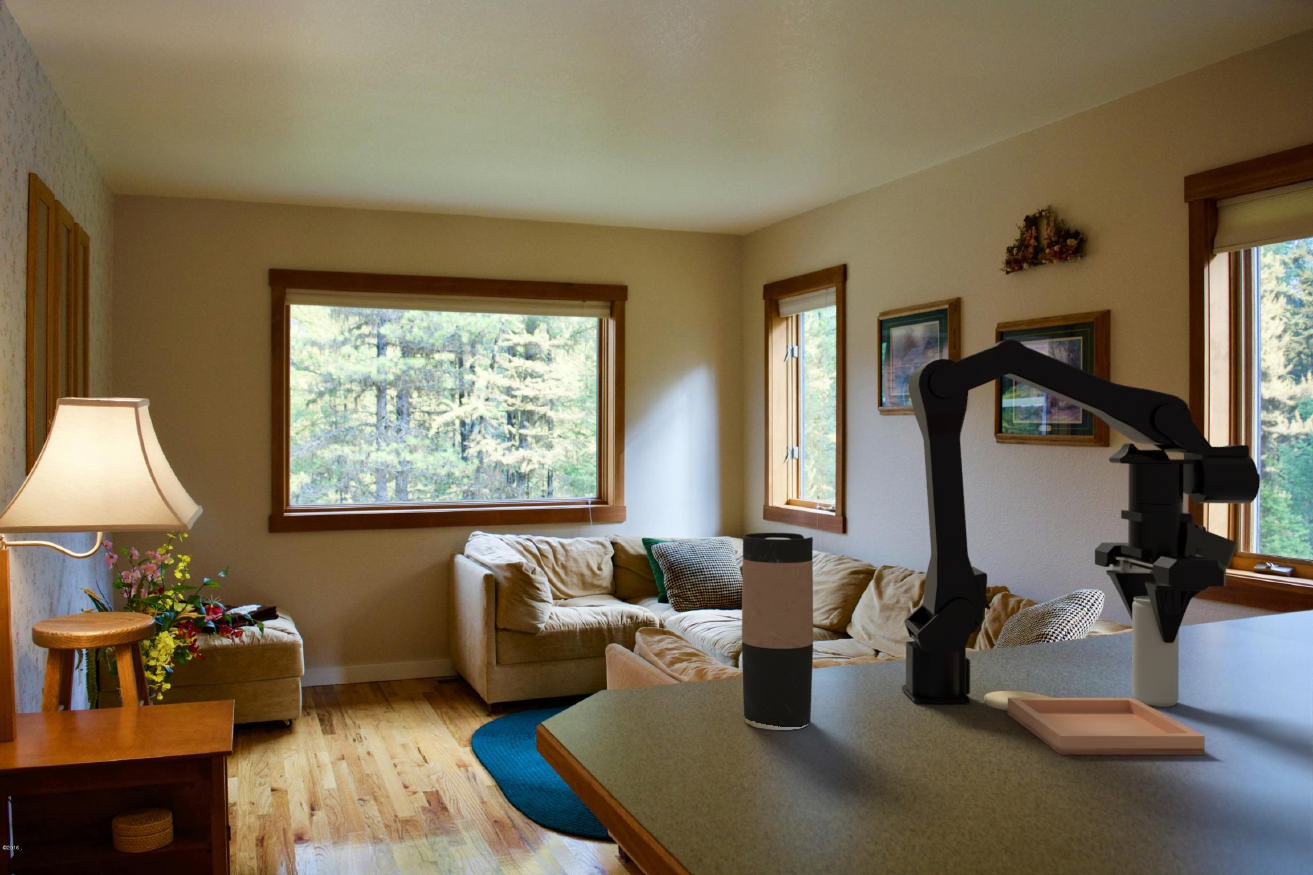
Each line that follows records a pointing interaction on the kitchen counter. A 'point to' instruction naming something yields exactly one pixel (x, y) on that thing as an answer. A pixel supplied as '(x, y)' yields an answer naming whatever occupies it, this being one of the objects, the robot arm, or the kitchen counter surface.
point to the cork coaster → (1001, 698)
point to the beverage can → (1152, 659)
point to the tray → (1104, 727)
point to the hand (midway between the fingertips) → (1155, 637)
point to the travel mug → (777, 628)
